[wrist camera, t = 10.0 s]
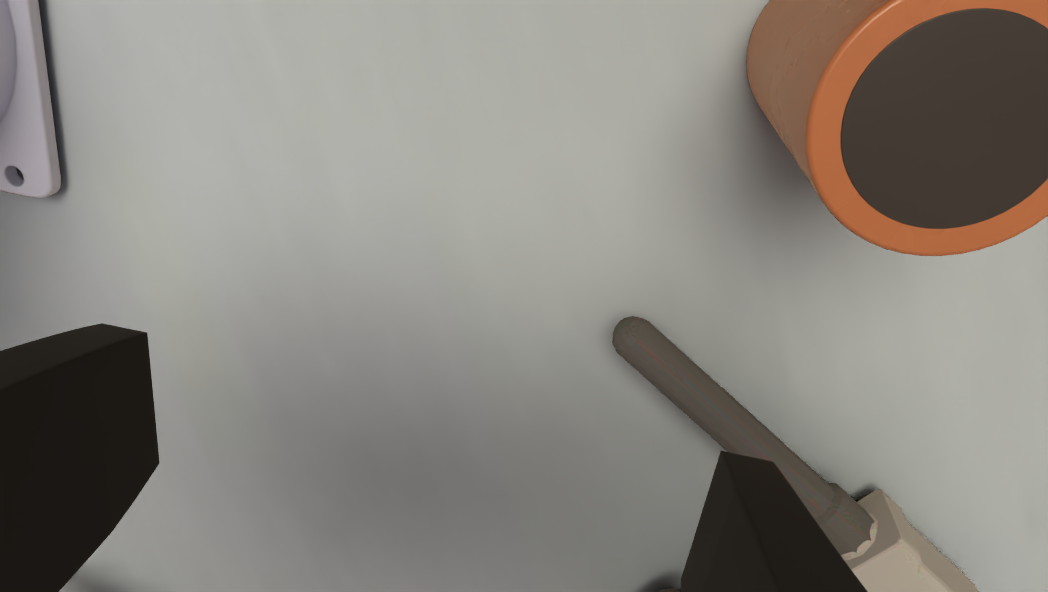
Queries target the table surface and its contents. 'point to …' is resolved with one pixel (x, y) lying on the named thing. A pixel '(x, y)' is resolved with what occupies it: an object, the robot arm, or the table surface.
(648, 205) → the table surface
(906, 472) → the table surface
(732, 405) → the walkie-talkie
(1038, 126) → the tube
